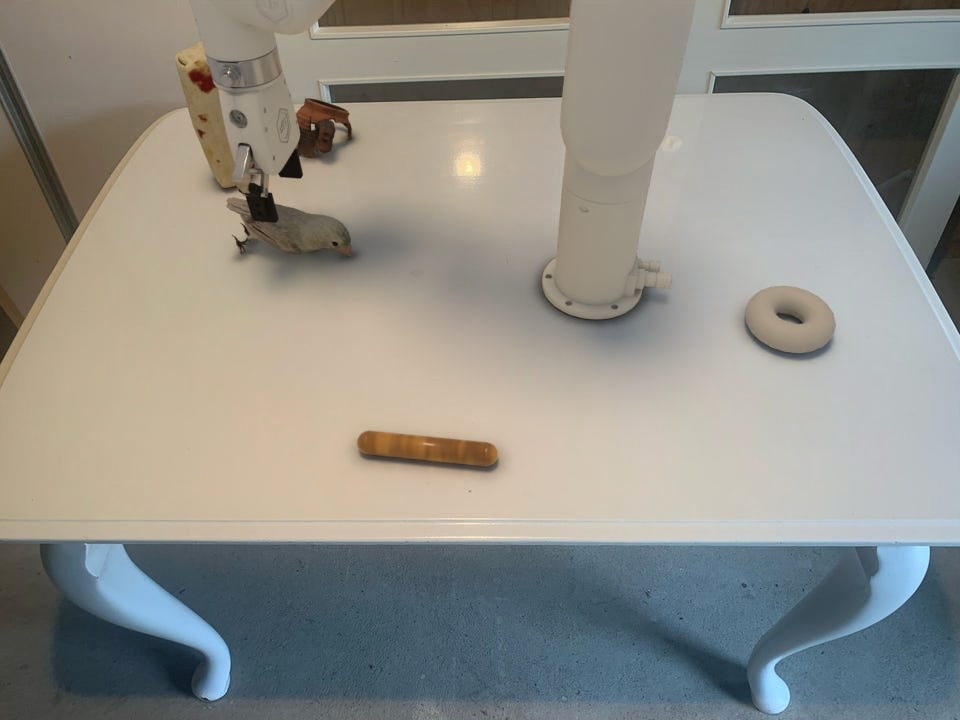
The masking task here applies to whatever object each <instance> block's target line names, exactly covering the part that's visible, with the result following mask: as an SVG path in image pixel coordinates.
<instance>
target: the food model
mask: <svg viewBox="0 0 960 720" xmlns="http://www.w3.org/2000/svg"><path fill="white" fill-rule="evenodd" d="M174 63H175V66H176V71H177V74H178V77H179V82H180V85H181V88H182V91H183V95H184V98H185V102H186V106H187V109H188V113H189V118H190V120H191V124H192V127H193V130H194V132H195V134H196V136H197V140H198V142H199V144H200V146H201V148H202V151H203V154H204V156H205V158H206V161H207V163H208V166H209V168H210V170H211V172H212V174H213V175H214V176H213V177H214V178H215V180H216V182H217V183H218V184H219V185H220V186H221V187H222V188H223V189H226V188H231V187H235V186H236V185H235V184H234V182H233V180H232V175H233V171H234V167H235V162H234V159H233V156H232V153H231V149H230V145H229V142H228V138H227V134H226V129H225V125H224V120H223V115H222V110H221V104H220V98H219V88H217V87H216V86H215V85H214V82H213V79H212V76H211V72H210V69H209V65H208V62H207V59H206V55H205V52H204V48H203V45H202V42H201V41H199V42H198V43H196V44H195V45H193V46H191V47H188V48H186V49H184V50H183V49H181V50H179V51H178V52H177V53H176V54H175V56H174ZM250 168H256V163H252V164H251V166H250Z"/></svg>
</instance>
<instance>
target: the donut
mask: <svg viewBox="0 0 960 720" xmlns="http://www.w3.org/2000/svg"><path fill="white" fill-rule="evenodd" d="M744 314H745V317H744V318H745V323H746V325H747V327H748V329H749V331H750V332H751V334H752V335H754V336H755V337H756V338H757V339H758V341H760V342H761V343H762V344H765V345H767V346H768V347H770V348H772V349H774V350H778V351H780V352H784V353H793V354H804V353H812V352H814V351H817V350H819V349H821V348H823V347H825V346H826V344H828V343H829V342H830V340H832V338H833V337H834V333H835V330H836V327H837V323H836V318H835V314H834V311H833V310H832V309H831V307H830V306H829V305H828V303H827V302H826V301H824V300H823V299H822V298H821V297H820V296H818V295H817V294H815V293H813V292H811V291H810V290H808V289H803V288H800V287H798V286H792V285H776V286H775V285H773V286H768V287H766V288H763V289H761V290H759V291H758V292H756V293H755V294H754V295H753V296H752V297H750V299H749V300H748V302H747V304H746V307H745V310H744ZM777 314H785V315H789V316H793V317H795V318H796V319H799V321H801V322H802V323H792V322H789V321H786V320H784V319H782V318H781V317H779V316H778V315H777Z"/></svg>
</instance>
